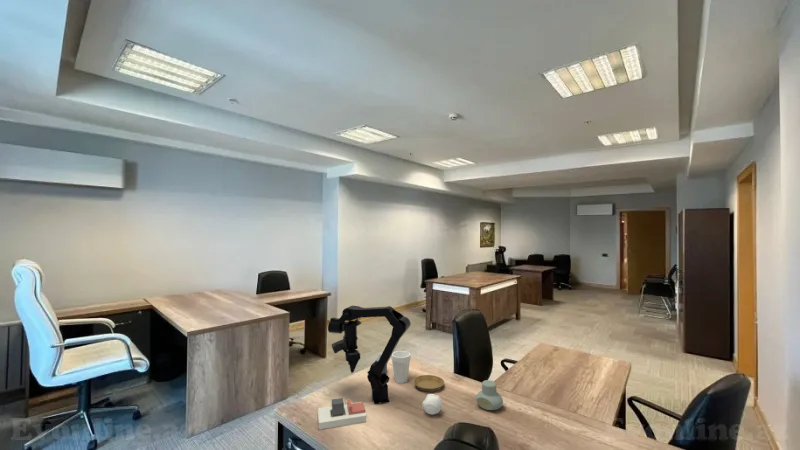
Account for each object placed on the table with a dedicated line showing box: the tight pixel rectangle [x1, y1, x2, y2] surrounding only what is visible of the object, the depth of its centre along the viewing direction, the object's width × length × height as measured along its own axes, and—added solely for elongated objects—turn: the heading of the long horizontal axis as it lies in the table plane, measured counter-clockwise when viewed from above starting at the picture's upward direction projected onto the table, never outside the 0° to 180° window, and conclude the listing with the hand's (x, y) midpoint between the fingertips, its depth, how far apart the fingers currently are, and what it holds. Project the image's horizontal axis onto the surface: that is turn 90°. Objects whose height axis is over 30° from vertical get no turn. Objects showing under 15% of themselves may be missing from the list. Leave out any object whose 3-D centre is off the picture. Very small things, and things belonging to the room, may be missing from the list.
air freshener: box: [475, 379, 504, 411], centre depth 141 cm, size 11×8×10 cm
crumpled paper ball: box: [421, 393, 443, 415], centre depth 137 cm, size 8×8×8 cm
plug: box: [331, 397, 345, 417], centre depth 134 cm, size 4×4×7 cm
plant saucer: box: [412, 374, 445, 393], centre depth 161 cm, size 15×15×3 cm
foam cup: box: [390, 350, 411, 384], centre depth 168 cm, size 10×9×13 cm
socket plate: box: [317, 401, 367, 430], centre depth 134 cm, size 18×11×2 cm, turn 105°
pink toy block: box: [346, 398, 366, 414], centre depth 136 cm, size 6×6×3 cm
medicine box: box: [374, 354, 388, 374], centre depth 175 cm, size 8×4×9 cm, turn 169°
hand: (350, 368), depth 153 cm, fingers open, 9 cm apart
